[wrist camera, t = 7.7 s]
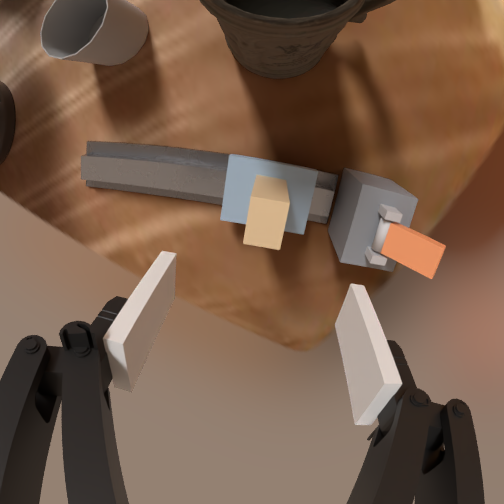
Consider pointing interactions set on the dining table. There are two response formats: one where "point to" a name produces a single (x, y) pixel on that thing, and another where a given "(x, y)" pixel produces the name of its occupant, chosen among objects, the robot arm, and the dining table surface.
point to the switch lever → (408, 247)
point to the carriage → (267, 198)
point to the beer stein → (285, 30)
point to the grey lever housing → (367, 216)
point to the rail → (177, 173)
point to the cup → (94, 31)
